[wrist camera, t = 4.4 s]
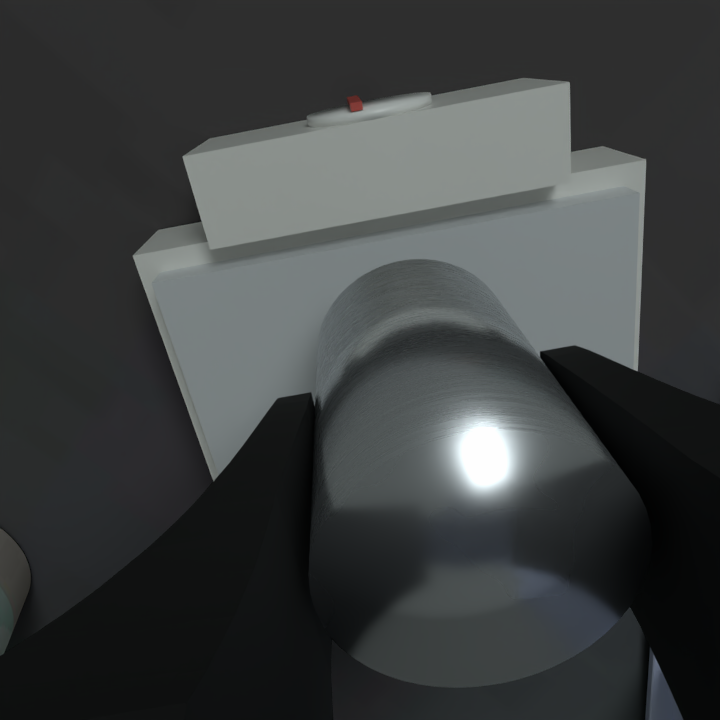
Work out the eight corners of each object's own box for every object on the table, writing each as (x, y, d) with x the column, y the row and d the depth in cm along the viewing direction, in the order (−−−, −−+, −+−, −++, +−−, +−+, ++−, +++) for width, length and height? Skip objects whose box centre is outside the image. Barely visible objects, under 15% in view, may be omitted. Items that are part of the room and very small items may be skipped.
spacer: (507, 425, 13) (630, 671, 8) (327, 442, 13) (328, 701, 8) (513, 249, 12) (676, 412, 6) (306, 269, 11) (287, 450, 6)
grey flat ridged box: (599, 499, 21) (642, 568, 18) (266, 555, 22) (257, 631, 19) (603, 45, 15) (670, 42, 12) (127, 137, 15) (81, 155, 12)
